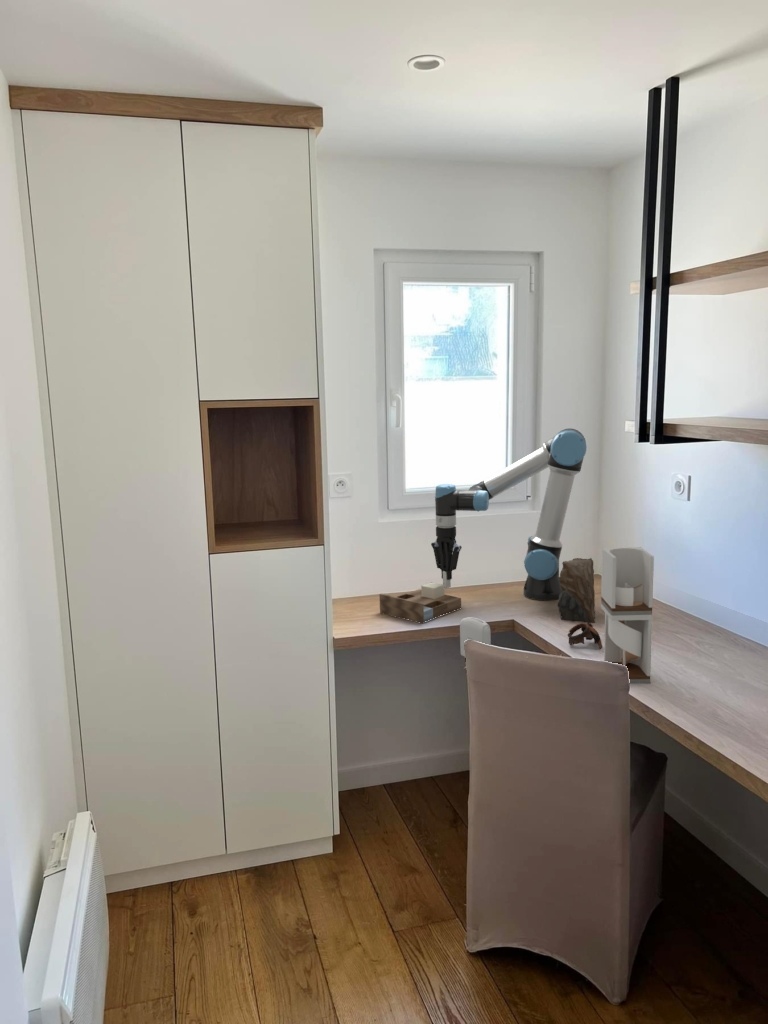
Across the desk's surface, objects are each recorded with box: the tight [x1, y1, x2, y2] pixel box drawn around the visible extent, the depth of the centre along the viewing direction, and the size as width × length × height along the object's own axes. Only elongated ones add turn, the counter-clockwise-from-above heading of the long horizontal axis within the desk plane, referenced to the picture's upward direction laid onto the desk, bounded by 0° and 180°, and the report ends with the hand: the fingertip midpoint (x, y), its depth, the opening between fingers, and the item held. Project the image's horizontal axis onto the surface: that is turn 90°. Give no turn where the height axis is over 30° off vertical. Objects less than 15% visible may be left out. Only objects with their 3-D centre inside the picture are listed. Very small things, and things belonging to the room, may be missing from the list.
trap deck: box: [378, 588, 462, 624], centre depth 275 cm, size 20×22×7 cm
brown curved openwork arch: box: [566, 622, 603, 650], centre depth 234 cm, size 12×10×8 cm
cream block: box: [420, 582, 445, 599], centre depth 279 cm, size 6×6×4 cm
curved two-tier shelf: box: [600, 546, 655, 684], centre depth 207 cm, size 11×11×35 cm
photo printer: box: [459, 616, 492, 658], centre depth 226 cm, size 10×4×12 cm, turn 39°
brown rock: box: [557, 557, 596, 624], centre depth 261 cm, size 13×13×20 cm
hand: (446, 587), depth 285 cm, fingers closed
